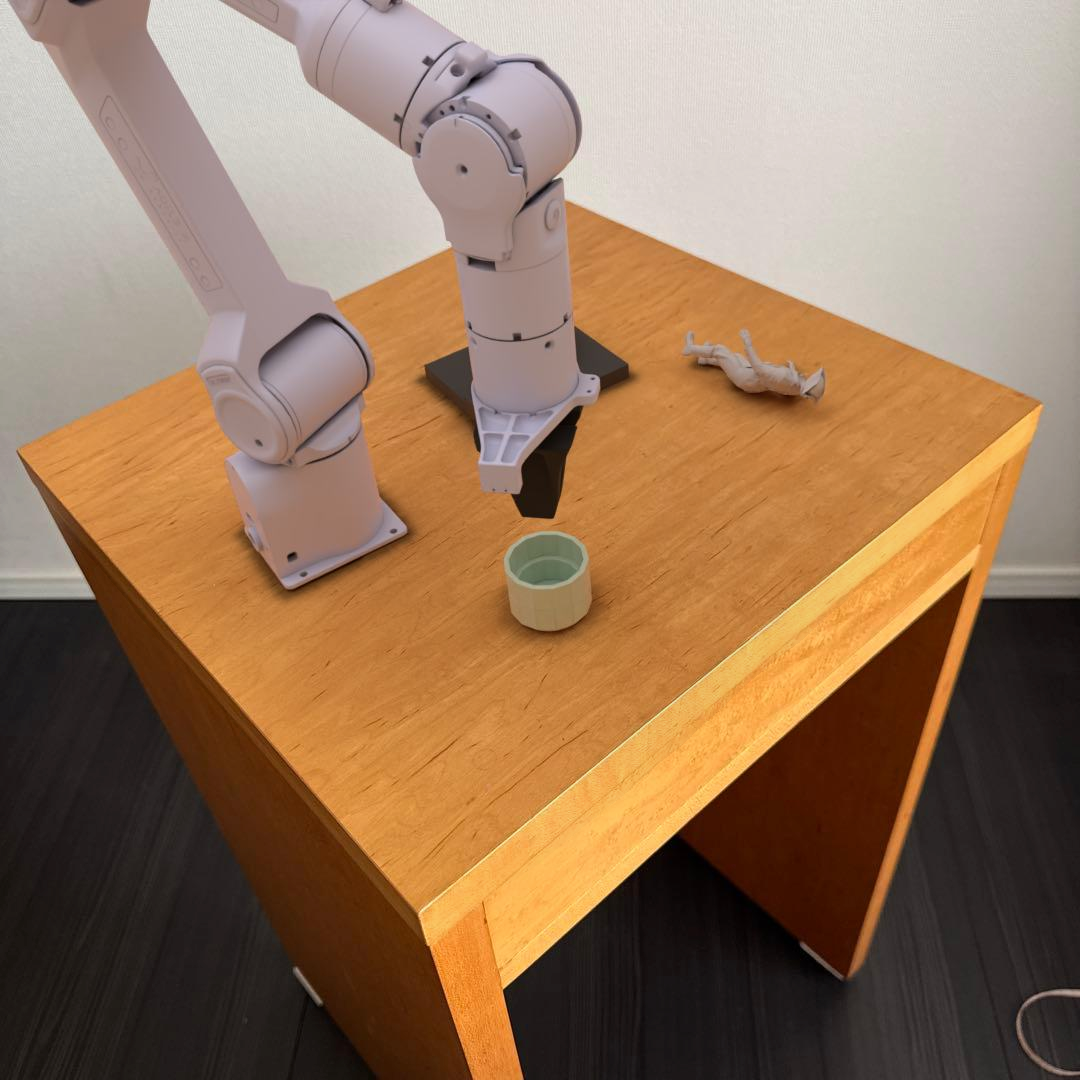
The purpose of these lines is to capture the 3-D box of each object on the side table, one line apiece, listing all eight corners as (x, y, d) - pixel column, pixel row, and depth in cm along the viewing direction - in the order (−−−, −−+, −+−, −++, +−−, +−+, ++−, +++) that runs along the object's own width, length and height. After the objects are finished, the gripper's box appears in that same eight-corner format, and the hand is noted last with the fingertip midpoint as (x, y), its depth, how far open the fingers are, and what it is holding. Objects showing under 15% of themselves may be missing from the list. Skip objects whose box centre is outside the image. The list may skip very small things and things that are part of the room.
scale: (491, 449, 86) (487, 417, 84) (418, 382, 94) (412, 351, 92) (634, 382, 91) (633, 350, 89) (554, 323, 99) (551, 293, 97)
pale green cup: (540, 648, 71) (534, 602, 68) (495, 600, 74) (487, 554, 71) (608, 611, 73) (605, 564, 70) (561, 565, 76) (556, 519, 73)
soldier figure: (728, 353, 95) (856, 355, 87) (715, 409, 95) (843, 416, 86) (674, 322, 89) (806, 321, 81) (661, 381, 89) (792, 386, 81)
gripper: (568, 396, 53) (585, 599, 62) (615, 245, 63) (623, 438, 72) (424, 389, 54) (461, 588, 63) (493, 243, 64) (516, 432, 73)
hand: (540, 508), depth 68 cm, fingers closed
